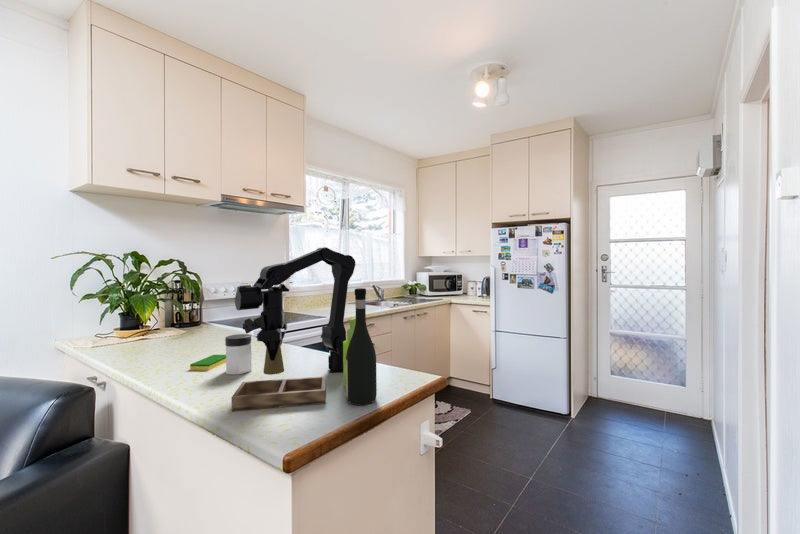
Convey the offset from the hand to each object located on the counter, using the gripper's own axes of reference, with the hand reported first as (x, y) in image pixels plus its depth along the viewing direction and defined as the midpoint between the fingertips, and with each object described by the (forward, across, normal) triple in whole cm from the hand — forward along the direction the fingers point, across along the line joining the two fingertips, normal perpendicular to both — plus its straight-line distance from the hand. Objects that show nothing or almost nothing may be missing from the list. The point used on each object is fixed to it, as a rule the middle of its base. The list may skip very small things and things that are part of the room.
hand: (273, 358), depth 112 cm
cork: (+4, 0, 0) cm, 4 cm away
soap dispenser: (+8, +5, +24) cm, 26 cm away
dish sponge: (+9, -28, -26) cm, 39 cm away
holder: (+8, +13, +4) cm, 16 cm away
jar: (+8, -17, -14) cm, 23 cm away
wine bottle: (+8, +19, +25) cm, 32 cm away
